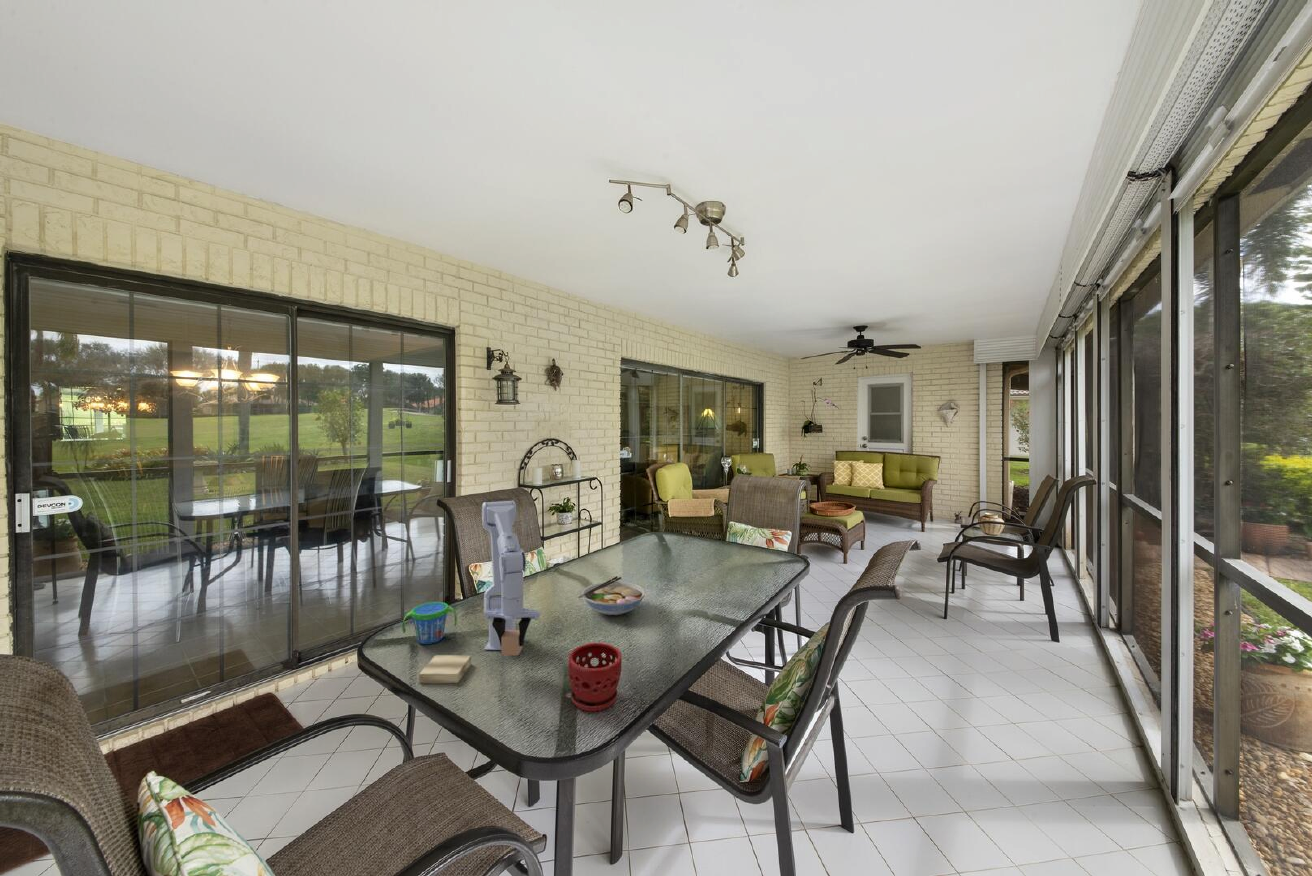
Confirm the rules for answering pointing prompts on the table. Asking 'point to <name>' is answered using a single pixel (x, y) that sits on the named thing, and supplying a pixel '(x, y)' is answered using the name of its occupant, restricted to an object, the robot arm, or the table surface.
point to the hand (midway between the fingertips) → (512, 644)
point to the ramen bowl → (613, 596)
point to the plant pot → (594, 676)
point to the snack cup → (429, 621)
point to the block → (510, 642)
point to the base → (445, 669)
